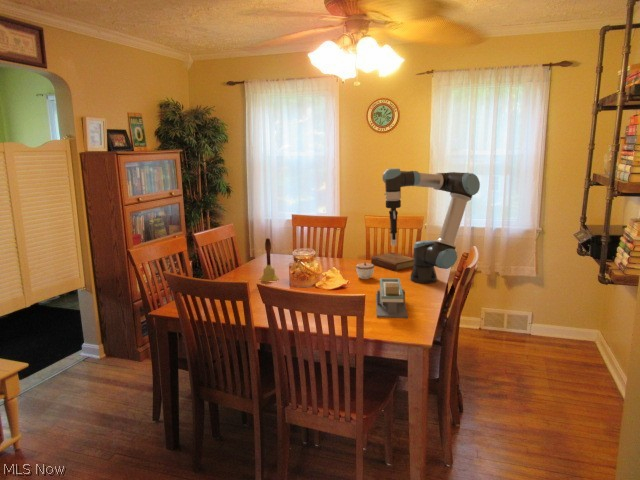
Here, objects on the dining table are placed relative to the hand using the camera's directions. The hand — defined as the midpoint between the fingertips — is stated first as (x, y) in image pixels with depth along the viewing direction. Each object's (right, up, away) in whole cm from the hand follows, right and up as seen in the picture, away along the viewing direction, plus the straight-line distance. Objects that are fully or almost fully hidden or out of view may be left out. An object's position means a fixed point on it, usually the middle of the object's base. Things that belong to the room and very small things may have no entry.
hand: (393, 245), depth 235 cm
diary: (+11, -15, +66) cm, 68 cm away
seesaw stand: (-3, -30, -11) cm, 32 cm away
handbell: (-68, -21, +39) cm, 81 cm away
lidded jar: (-11, -20, +39) cm, 45 cm away
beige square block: (-4, -23, -21) cm, 31 cm away
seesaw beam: (-3, -23, -12) cm, 26 cm away
